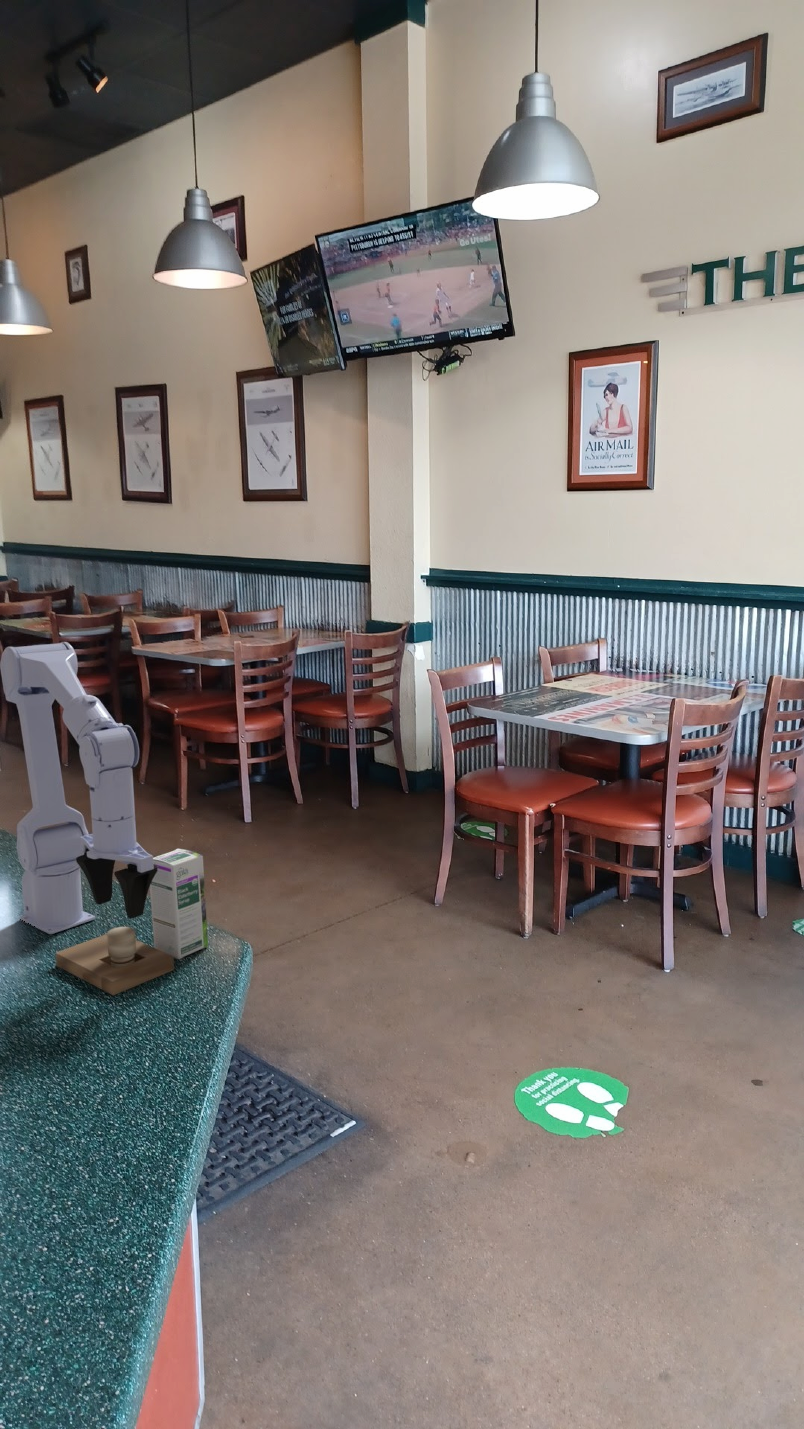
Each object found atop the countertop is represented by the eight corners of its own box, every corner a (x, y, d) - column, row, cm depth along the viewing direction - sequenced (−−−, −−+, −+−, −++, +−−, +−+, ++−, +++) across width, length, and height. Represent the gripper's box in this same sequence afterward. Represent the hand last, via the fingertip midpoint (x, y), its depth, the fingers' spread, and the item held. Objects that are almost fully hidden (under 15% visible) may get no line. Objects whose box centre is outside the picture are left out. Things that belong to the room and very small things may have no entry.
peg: (103, 972, 141) (101, 932, 140) (127, 963, 144) (124, 924, 143) (119, 980, 139) (117, 940, 138) (142, 971, 142) (140, 931, 140)
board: (56, 965, 143) (55, 952, 143) (116, 943, 151) (115, 930, 151) (113, 995, 135) (112, 981, 134) (174, 969, 142) (173, 956, 142)
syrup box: (179, 960, 145) (174, 865, 142) (152, 950, 148) (147, 856, 146) (208, 947, 149) (204, 854, 147) (182, 937, 153) (177, 846, 150)
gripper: (57, 811, 138) (64, 904, 141) (119, 832, 129) (125, 931, 132) (102, 800, 144) (108, 890, 146) (164, 820, 135) (169, 915, 137)
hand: (119, 909), depth 140 cm, fingers open, 7 cm apart
